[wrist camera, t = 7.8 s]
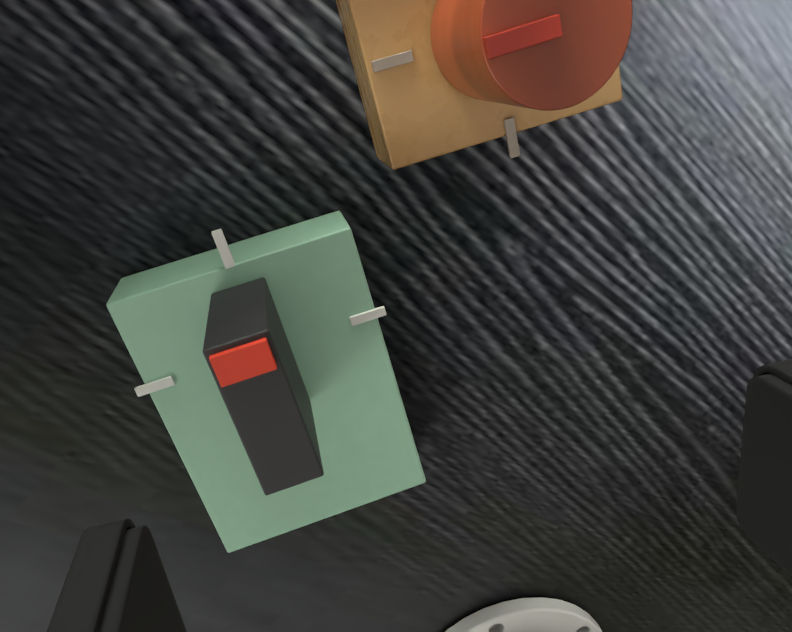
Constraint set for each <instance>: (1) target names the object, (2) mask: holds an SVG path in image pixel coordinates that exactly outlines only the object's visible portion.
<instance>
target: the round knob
mask: <svg viewBox="0 0 792 632" xmlns="http://www.w3.org/2000/svg"><path fill="white" fill-rule="evenodd" d="M632 13H633V12H632V0H437V2H436V5H435V8H434V12H433V16H432V21H431V45H432V50H433V54H434V57H435V61H436V63H437V65H438V67H439V69H440V71H441V73H442V74H443V76H444V77H445V78H446V80H447V81H448V82H449V83H450V84H451V85H452V86H453V87H454V88H455V89H457V90H458V91H459V92H461V93H463V94H465V95H467V96H469V97H471V98H474V99H479V100H484V101H490V102H495V103H501V104H507V105H513V106H519V107H524V108H530V109H536V110H542V111H554V110H562V109H566V108H570V107H572V106H575V105H577V104H580V103H581V102H583V101H585V100H587V99H588V98H590V97H591V96H592V95H594V94H595V93H596V92H597V91H598V90H599V89H601V88H602V87H603V86H604V85H605V84H606V82H607V81H608V80H609V79H610V78H611V76H612V75H613V73H614V72H615V70H616V69H617V67H618V65H619V64H620V62H621V60H622V58H623V55H624V53H625V50H626V48H627V45H628V41H629V37H630V32H631V26H632Z"/></svg>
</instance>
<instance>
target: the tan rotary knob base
mask: <svg viewBox="0 0 792 632" xmlns="http://www.w3.org/2000/svg"><path fill="white" fill-rule="evenodd" d="M335 1H336V5H337V9H338V12H339V16H340V20H341V24H342V27H343V31H344V35H345V39H346V43H347V46H348V50H349V54H350V58H351V61H352V65H353V69H354V73H355V76H356V80H357V84H358V88H359V91H360V95H361V99H362V103H363V106H364V110H365V114H366V118H367V121H368V125H369V129H370V133H371V136H372V140H373V144H374V148H375V151H376V155H377V158H378V159H380V160H381V161H382V162H384V163H385V164H386V165H387V166H389V167H390V168H391V169H393V170H395V169H399V168H402V167H405V166H408V165H412V164H415V163H418V162H421V161H425V160H428V159H431V158H434V157H438V156H441V155H444V154H448V153H451V152H454V151H457V150H461V149H464V148H467V147H470V146H474V145H477V144H480V143H483V142H487V141H490V140H493V139H496V138H500V137H503V136H506V139H507V144H508V150H509V156H510V158H514V157H517V156H520V151H519V145H518V139H517V134H516V132H519V131H522V130H526V129H529V128H532V127H535V126H539V125H542V124H545V123H548V122H552V121H555V120H558V119H561V118H565V117H568V116H571V115H574V114H578V113H581V112H584V111H587V110H591V109H594V108H597V107H600V106H604V105H607V104H610V103H613V102H617V101H620V100H621V99H622V88H621V79H620V69H619V65H618V67H617V69H616V70H615V72H614V73H613V75H612V76H611V78H610V79H609V80H608V81H607V82H606V84H605V85H604V86H603V87H602V88H601V89H599V90H598V91H597V92H596V93H595V94H594V95H592V96H591V97H590V98H588V99H587V100H585V101H583V102H581V103H580V104H577V105H575V106H572V107H570V108H566V109H562V110H554V111H542V110H536V109H530V108H524V107H519V106H513V105H507V104H501V103H495V102H490V101H484V100H479V99H474V98H471V97H469V96H467V95H465V94H463V93H461V92H459V91H458V90H457V89H455V88H454V87H453V86H452V85H451V84H450V83H449V82H448V81H447V80H446V78H445V77H444V76H443V74H442V73H441V71H440V69H439V67H438V65H437V63H436V61H435V57H434V54H433V50H432V45H431V21H432V16H433V12H434V8H435V5H436V2H437V0H335Z"/></svg>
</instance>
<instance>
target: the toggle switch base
mask: <svg viewBox="0 0 792 632" xmlns="http://www.w3.org/2000/svg"><path fill="white" fill-rule="evenodd" d="M211 233H212V236H213V238H214V241H215V243H216V246H217V248H216V249H213V250H210V251H207V252H204V253H200V254H197V255H194V256H191V257H187V258H184V259H181V260H178V261H175V262H171V263H168V264H165V265H162V266H159V267H155V268H152V269H149V270H146V271H142V272H139V273H136V274H133V275H130V276H126V277H123V278H121V279H120V281H119V283H118V285H117V286H116V288H115V290H114V292H113V293H112V295H111V297H110V299H109V300H108V302H107V304H106V306H107V308H108V310H109V312H110V314H111V316H112V318H113V320H114V322H115V325H116V327H117V329H118V331H119V333H120V335H121V337H122V339H123V341H124V343H125V345H126V347H127V349H128V351H129V353H130V355H131V357H132V359H133V361H134V363H135V365H136V367H137V369H138V371H139V373H140V375H141V377H142V379H143V381H144V383H145V384H143V385H140V386H137V387H135V388H134V390H135V392H136V394H137V396H138V397H140V396H143V395H146V394H150V396H151V398H152V400H153V402H154V404H155V406H156V408H157V410H158V412H159V414H160V416H161V418H162V420H163V422H164V424H165V426H166V428H167V430H168V432H169V434H170V436H171V438H172V440H173V442H174V444H175V446H176V449H177V451H178V453H179V455H180V457H181V459H182V461H183V463H184V465H185V467H186V469H187V471H188V473H189V475H190V477H191V479H192V481H193V483H194V485H195V487H196V489H197V491H198V493H199V495H200V497H201V499H202V501H203V503H204V505H205V507H206V509H207V512H208V514H209V516H210V518H211V520H212V522H213V524H214V526H215V528H216V530H217V532H218V534H219V536H220V538H221V540H222V542H223V544H224V546H225V548H226V550H227V552H228V553H230V552H233V551H236V550H238V549H241V548H244V547H247V546H249V545H252V544H255V543H258V542H261V541H263V540H266V539H269V538H272V537H275V536H277V535H280V534H283V533H286V532H289V531H291V530H294V529H297V528H300V527H302V526H305V525H308V524H311V523H314V522H316V521H319V520H322V519H325V518H328V517H330V516H333V515H336V514H339V513H342V512H344V511H347V510H350V509H353V508H355V507H358V506H361V505H364V504H367V503H369V502H372V501H375V500H378V499H381V498H383V497H386V496H389V495H392V494H395V493H397V492H400V491H403V490H406V489H408V488H411V487H414V486H417V485H420V484H422V483H425V482H426V479H425V476H424V472H423V469H422V466H421V462H420V459H419V455H418V452H417V449H416V445H415V442H414V439H413V435H412V432H411V428H410V425H409V422H408V418H407V415H406V412H405V408H404V405H403V402H402V398H401V395H400V391H399V388H398V385H397V381H396V378H395V375H394V371H393V368H392V365H391V361H390V358H389V354H388V351H387V348H386V344H385V341H384V338H383V334H382V331H381V328H380V324H379V321H378V318H379V317H382V316H385V315H387V314H386V311H385V307H384V306H381V307H378V308H375V307H374V304H373V301H372V297H371V294H370V291H369V287H368V284H367V280H366V277H365V274H364V270H363V267H362V264H361V260H360V257H359V253H358V250H357V247H356V243H355V240H354V237H353V233H352V230H351V228H350V226H349V224H348V223H347V221H346V220H345V218H344V216H343V215H342V213H341V212H340V211H335V212H332V213H329V214H326V215H323V216H319V217H316V218H313V219H310V220H306V221H303V222H300V223H297V224H294V225H290V226H287V227H284V228H281V229H277V230H274V231H271V232H268V233H265V234H261V235H258V236H255V237H252V238H249V239H245V240H242V241H239V242H236V243H232V244H229V245H228V244H227V242H226V239H225V236H224V234H223V231H222V229H217V230H214V231H211ZM262 277H264V278H265V279H266V282H267V285H268V288H269V290H270V293H271V296H272V298H273V301H274V304H275V307H276V309H277V312H278V315H279V317H280V320H281V323H282V326H283V328H284V331H285V334H286V336H287V339H288V342H289V344H290V347H291V350H292V353H293V355H294V358H295V361H296V363H297V366H298V369H299V372H300V374H301V377H302V380H303V382H304V385H305V388H306V391H307V393H308V396H309V399H310V402H311V407H312V413H313V418H314V423H315V429H316V434H317V440H318V445H319V450H320V456H321V461H322V466H323V472H324V475H323V476H321V477H318V478H316V479H313V480H310V481H307V482H304V483H301V484H298V485H296V486H293V487H290V488H287V489H284V490H281V491H279V492H276V493H273V494H270V495H265V494H264V492H263V489H262V487H261V485H260V483H259V480H258V478H257V476H256V473H255V471H254V469H253V467H252V464H251V462H250V460H249V457H248V455H247V453H246V451H245V448H244V446H243V444H242V441H241V439H240V437H239V434H238V432H237V430H236V428H235V425H234V423H233V421H232V418H231V416H230V414H229V412H228V409H227V407H226V405H225V402H224V400H223V398H222V396H221V393H220V391H219V389H218V386H217V384H216V382H215V380H214V377H213V375H212V373H211V370H210V368H209V366H208V363H207V361H206V359H205V357H204V354H203V345H204V338H205V332H206V325H207V319H208V312H209V305H210V299H211V294H212V293H215V292H218V291H221V290H224V289H227V288H231V287H234V286H237V285H240V284H243V283H246V282H249V281H253V280H256V279H259V278H262Z"/></svg>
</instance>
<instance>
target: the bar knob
mask: <svg viewBox="0 0 792 632" xmlns="http://www.w3.org/2000/svg"><path fill="white" fill-rule="evenodd" d="M203 354H204V357H205V359H206V361H207V363H208V366H209V368H210V370H211V373H212V375H213V377H214V380H215V382H216V384H217V386H218V389H219V391H220V393H221V396H222V398H223V400H224V402H225V405H226V407H227V409H228V412H229V414H230V416H231V418H232V421H233V423H234V425H235V428H236V430H237V432H238V434H239V437H240V439H241V441H242V444H243V446H244V448H245V451H246V453H247V455H248V457H249V460H250V462H251V464H252V467H253V469H254V471H255V473H256V476H257V478H258V480H259V483H260V485H261V487H262V489H263V492H264V494H265V495H270V494H273V493H276V492H279V491H281V490H284V489H287V488H290V487H293V486H296V485H298V484H301V483H304V482H307V481H310V480H313V479H316V478H318V477H321V476H323V475H324V472H323V466H322V461H321V456H320V450H319V445H318V440H317V434H316V429H315V423H314V418H313V413H312V407H311V402H310V399H309V396H308V393H307V391H306V388H305V385H304V382H303V380H302V377H301V374H300V372H299V369H298V366H297V363H296V361H295V358H294V355H293V353H292V350H291V347H290V344H289V342H288V339H287V336H286V334H285V331H284V328H283V326H282V323H281V320H280V317H279V315H278V312H277V309H276V307H275V304H274V301H273V298H272V296H271V293H270V290H269V288H268V285H267V282H266V279H265V278H264V277H262V278H259V279H256V280H253V281H249V282H246V283H243V284H240V285H237V286H234V287H231V288H227V289H224V290H221V291H218V292H215V293H212V294H211V299H210V305H209V312H208V319H207V325H206V332H205V338H204V345H203Z"/></svg>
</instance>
